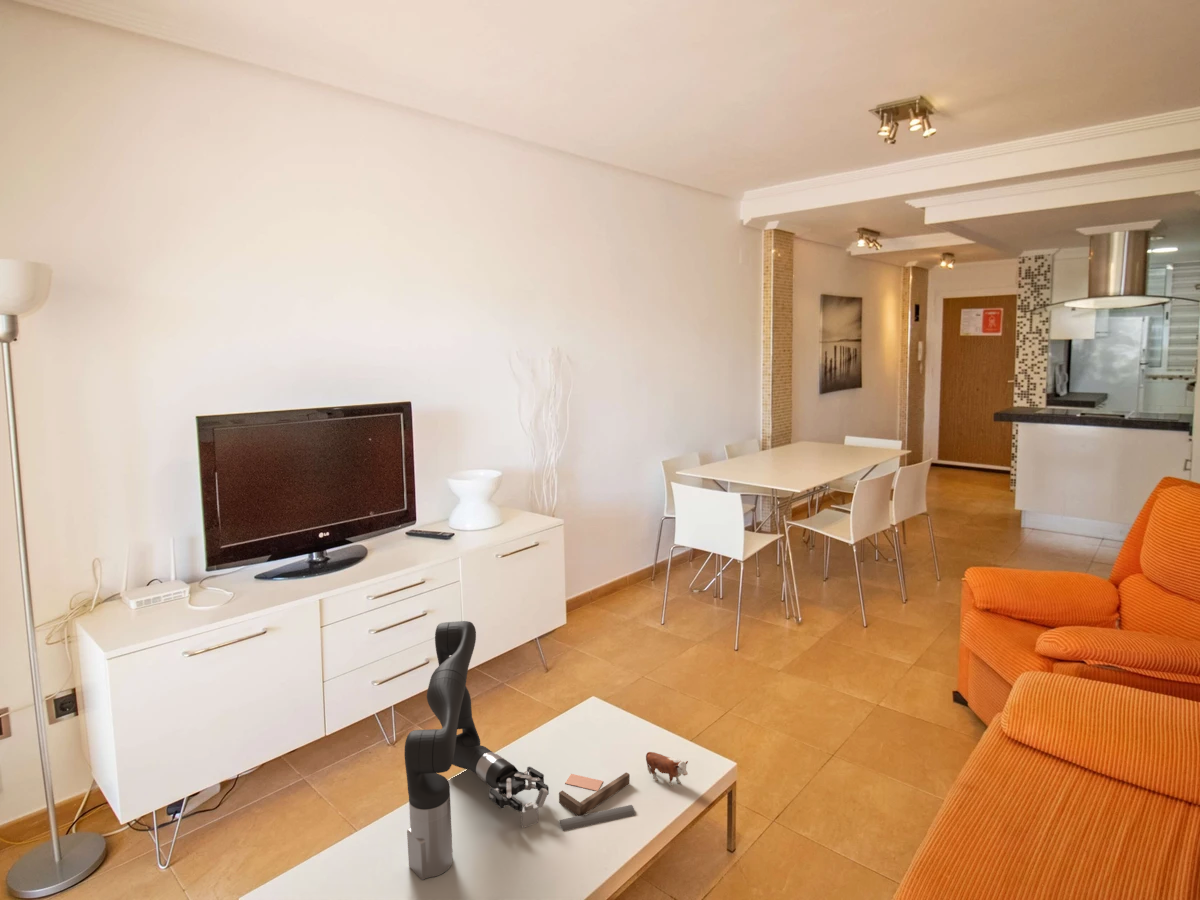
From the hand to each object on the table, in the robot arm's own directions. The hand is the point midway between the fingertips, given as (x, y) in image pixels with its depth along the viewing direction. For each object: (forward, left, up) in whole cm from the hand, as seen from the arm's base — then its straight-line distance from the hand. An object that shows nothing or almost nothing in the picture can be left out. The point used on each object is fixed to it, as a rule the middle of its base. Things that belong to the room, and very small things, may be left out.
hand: (534, 799), depth 175 cm
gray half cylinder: (+12, -10, -7) cm, 17 cm away
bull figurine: (+36, -14, -6) cm, 39 cm away
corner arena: (+18, -3, -6) cm, 20 cm away
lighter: (0, 0, -6) cm, 6 cm away
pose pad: (+19, +2, -6) cm, 20 cm away
